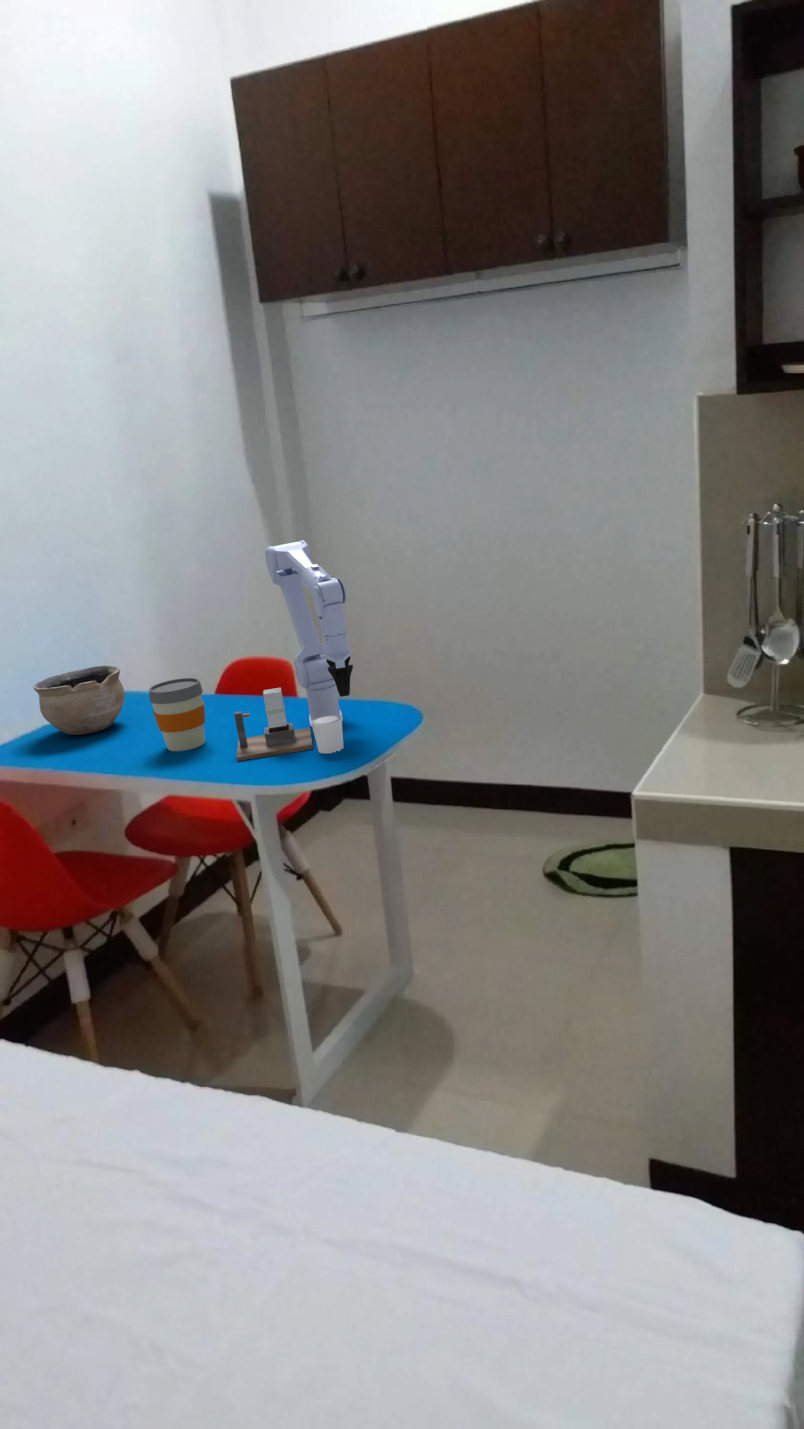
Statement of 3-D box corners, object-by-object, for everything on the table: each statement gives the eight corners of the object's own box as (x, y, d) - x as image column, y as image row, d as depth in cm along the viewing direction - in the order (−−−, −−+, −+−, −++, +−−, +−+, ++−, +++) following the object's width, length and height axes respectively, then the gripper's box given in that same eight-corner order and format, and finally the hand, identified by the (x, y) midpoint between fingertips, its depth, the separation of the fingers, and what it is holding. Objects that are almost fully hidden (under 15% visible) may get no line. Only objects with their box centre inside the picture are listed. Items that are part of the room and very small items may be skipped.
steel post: (269, 723, 251) (263, 690, 248) (286, 720, 251) (281, 687, 249) (269, 728, 247) (262, 694, 244) (287, 725, 247) (281, 691, 245)
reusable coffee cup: (161, 757, 254) (148, 696, 250) (158, 743, 265) (146, 684, 261) (215, 746, 256) (203, 685, 252) (209, 732, 268) (198, 674, 264)
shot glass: (312, 749, 244) (307, 719, 242) (340, 742, 246) (336, 712, 244) (320, 756, 238) (315, 726, 236) (350, 749, 240) (345, 719, 238)
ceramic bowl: (65, 749, 272) (51, 691, 268) (33, 736, 289) (20, 682, 285) (145, 724, 285) (133, 668, 281) (110, 712, 302) (98, 660, 297)
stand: (239, 743, 256) (232, 706, 254) (310, 731, 257) (304, 694, 255) (237, 761, 243) (230, 722, 240) (312, 748, 244) (306, 709, 241)
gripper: (315, 630, 250) (324, 686, 254) (318, 642, 236) (327, 702, 240) (346, 625, 251) (354, 681, 255) (350, 637, 237) (359, 697, 241)
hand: (343, 691), depth 247 cm, fingers open, 7 cm apart
